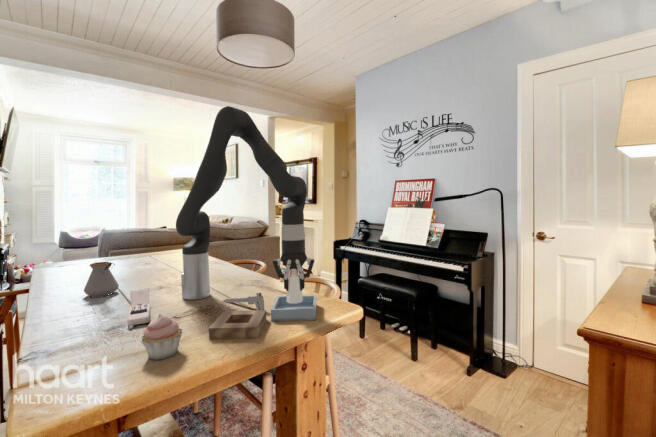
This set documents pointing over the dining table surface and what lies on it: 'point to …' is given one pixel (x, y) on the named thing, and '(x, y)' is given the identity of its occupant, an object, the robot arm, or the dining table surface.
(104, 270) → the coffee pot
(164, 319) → the cupcake
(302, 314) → the tray
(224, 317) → the socket block
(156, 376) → the dining table surface
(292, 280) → the pepper shaker
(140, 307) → the mobile phone
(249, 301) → the caliper
